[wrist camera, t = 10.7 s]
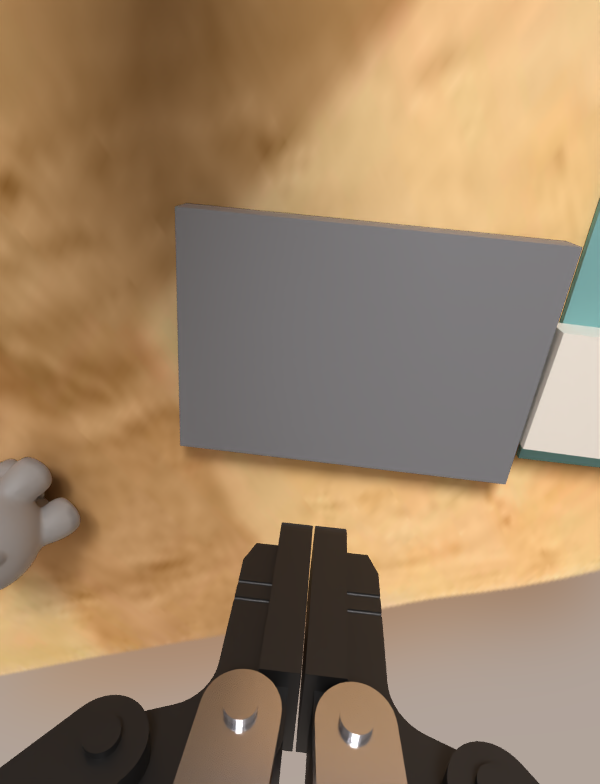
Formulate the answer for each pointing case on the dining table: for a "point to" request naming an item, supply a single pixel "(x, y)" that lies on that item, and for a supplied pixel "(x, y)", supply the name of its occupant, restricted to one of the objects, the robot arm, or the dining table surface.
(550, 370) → the cream tile
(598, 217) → the teal mat
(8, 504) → the chubby cartoon animal
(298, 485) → the dining table surface
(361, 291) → the plate
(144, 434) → the dining table surface
